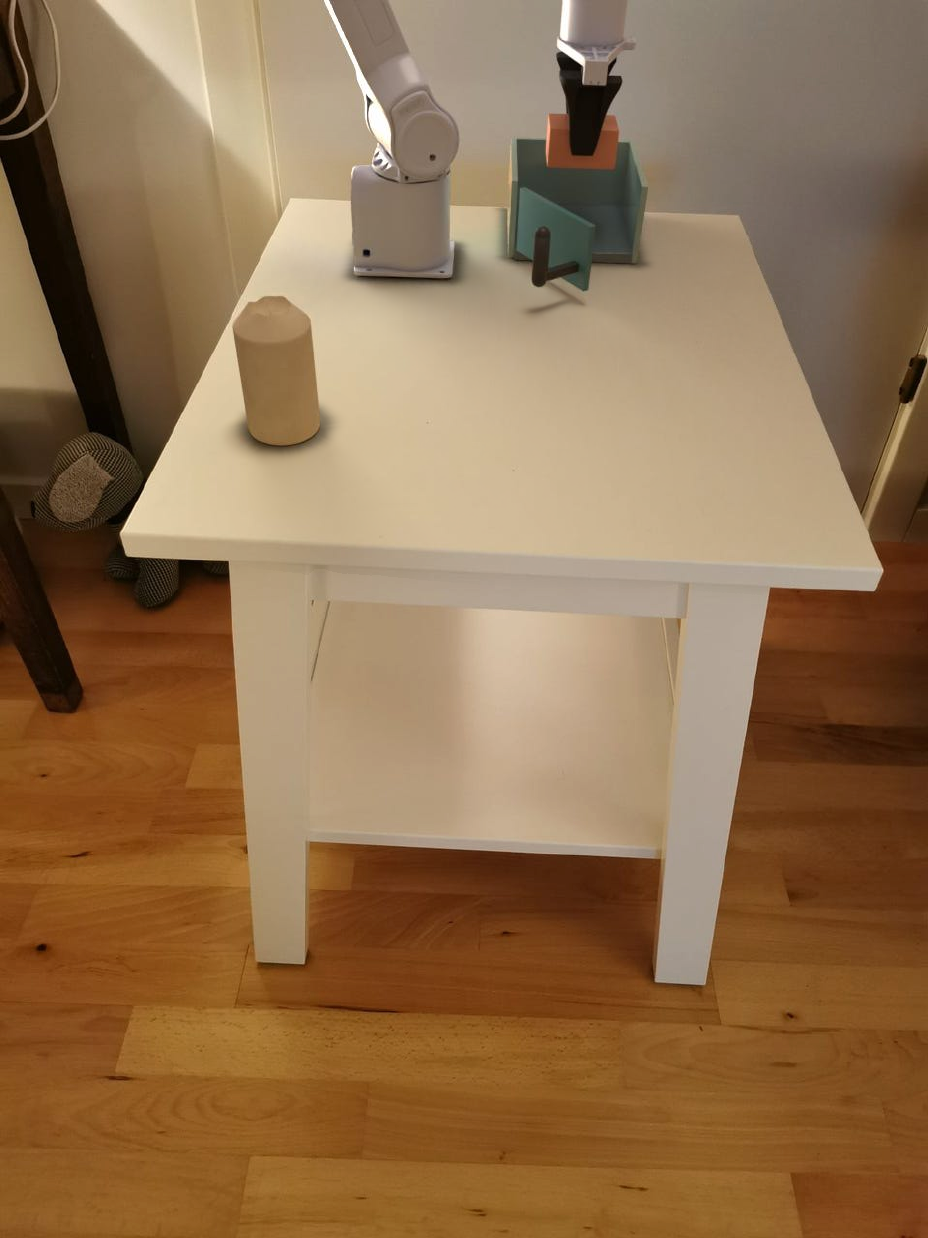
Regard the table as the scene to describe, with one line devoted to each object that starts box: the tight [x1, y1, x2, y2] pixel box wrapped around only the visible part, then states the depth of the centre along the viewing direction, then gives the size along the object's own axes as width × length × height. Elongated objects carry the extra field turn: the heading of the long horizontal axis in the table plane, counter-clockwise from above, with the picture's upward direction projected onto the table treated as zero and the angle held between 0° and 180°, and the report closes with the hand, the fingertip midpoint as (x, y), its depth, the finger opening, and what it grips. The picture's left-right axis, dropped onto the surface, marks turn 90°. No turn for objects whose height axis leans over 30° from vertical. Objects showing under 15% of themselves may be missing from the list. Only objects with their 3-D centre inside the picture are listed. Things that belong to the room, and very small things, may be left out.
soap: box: [546, 113, 620, 169], centre depth 94 cm, size 4×6×4 cm
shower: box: [506, 136, 649, 265], centre depth 99 cm, size 13×13×8 cm
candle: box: [231, 295, 321, 446], centre depth 71 cm, size 6×6×10 cm
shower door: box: [517, 187, 596, 292], centre depth 89 cm, size 10×6×6 cm, turn 34°
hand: (580, 145), depth 94 cm, fingers closed on soap, 4 cm apart
